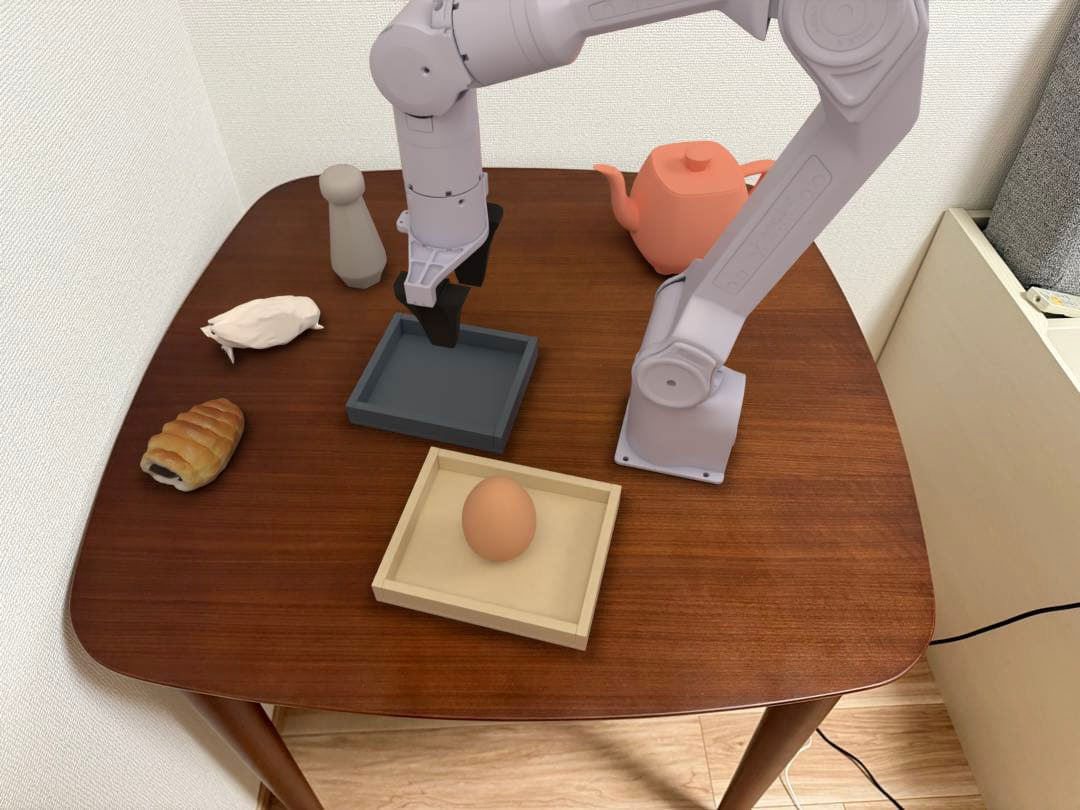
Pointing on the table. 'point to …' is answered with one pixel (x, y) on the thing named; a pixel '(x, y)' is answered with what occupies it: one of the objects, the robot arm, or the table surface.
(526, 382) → the slate tray
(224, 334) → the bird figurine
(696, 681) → the table surface
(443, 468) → the ivory tray
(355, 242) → the salt shaker
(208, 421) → the pastry
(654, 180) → the teapot
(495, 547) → the egg
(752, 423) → the table surface
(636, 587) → the table surface
